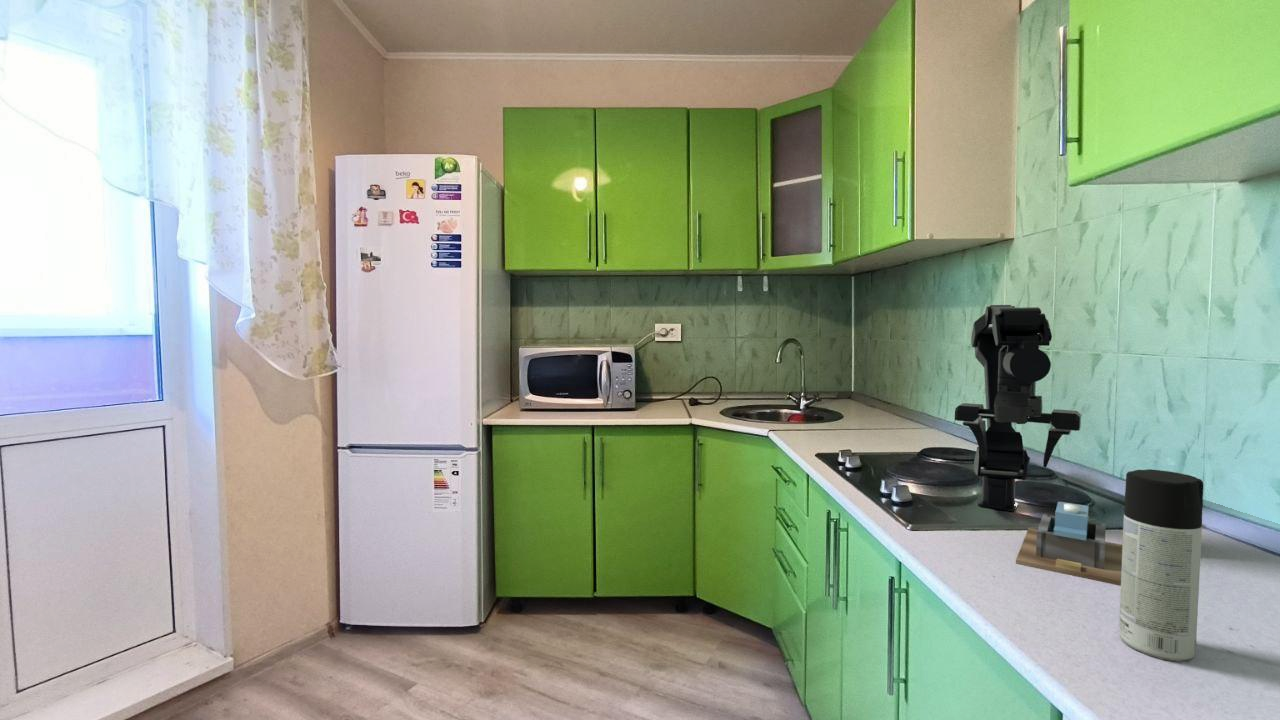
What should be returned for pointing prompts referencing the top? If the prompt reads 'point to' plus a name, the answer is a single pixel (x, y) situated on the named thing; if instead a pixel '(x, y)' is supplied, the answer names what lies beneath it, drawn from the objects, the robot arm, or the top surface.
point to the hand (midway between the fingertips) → (1014, 463)
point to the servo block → (1071, 520)
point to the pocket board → (1072, 552)
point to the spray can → (1161, 563)
